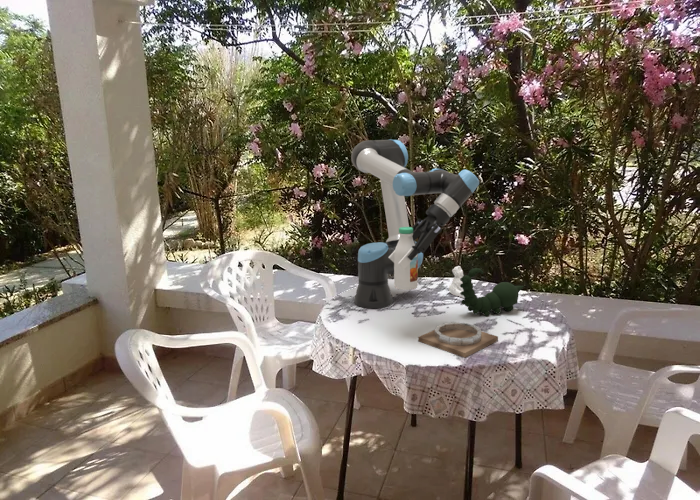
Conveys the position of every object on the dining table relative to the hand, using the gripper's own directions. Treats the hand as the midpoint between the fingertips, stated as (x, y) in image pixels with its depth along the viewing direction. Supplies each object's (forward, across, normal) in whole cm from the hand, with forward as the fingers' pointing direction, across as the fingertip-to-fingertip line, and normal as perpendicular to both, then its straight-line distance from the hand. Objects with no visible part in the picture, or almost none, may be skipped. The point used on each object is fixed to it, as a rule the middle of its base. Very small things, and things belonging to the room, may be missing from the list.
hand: (396, 263), depth 170 cm
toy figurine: (-12, +6, -47) cm, 48 cm away
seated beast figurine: (-11, +31, -46) cm, 57 cm away
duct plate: (+6, -13, -28) cm, 32 cm away
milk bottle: (+4, 0, -9) cm, 10 cm away
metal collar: (+5, -13, -27) cm, 31 cm away
